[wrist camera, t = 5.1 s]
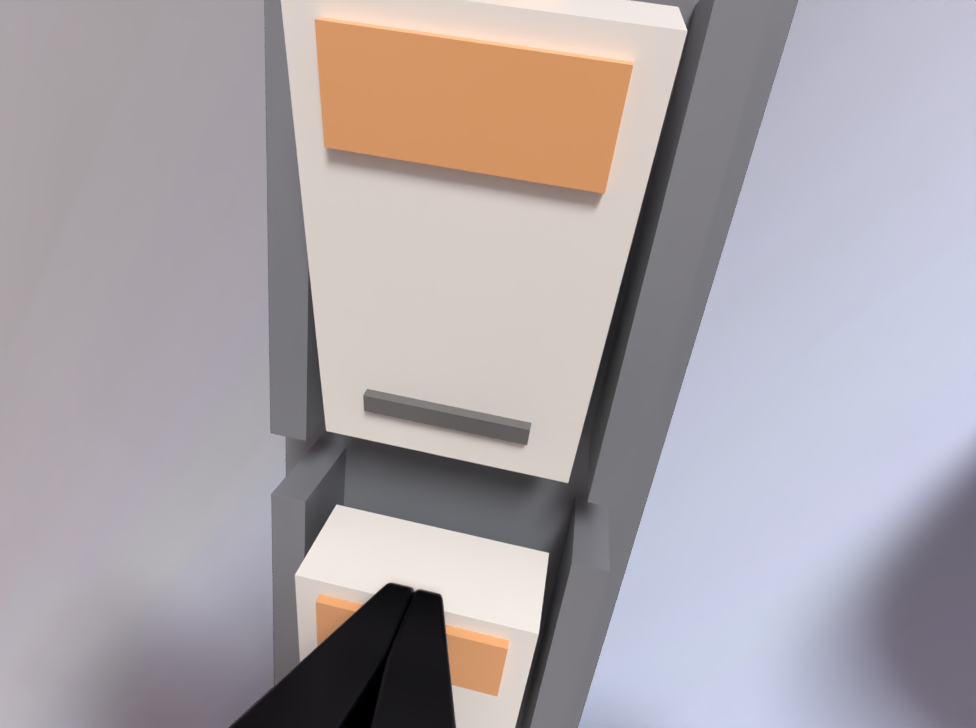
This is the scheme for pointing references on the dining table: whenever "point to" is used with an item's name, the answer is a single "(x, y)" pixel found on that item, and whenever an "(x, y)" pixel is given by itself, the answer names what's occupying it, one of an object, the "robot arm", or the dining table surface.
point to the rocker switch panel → (618, 385)
